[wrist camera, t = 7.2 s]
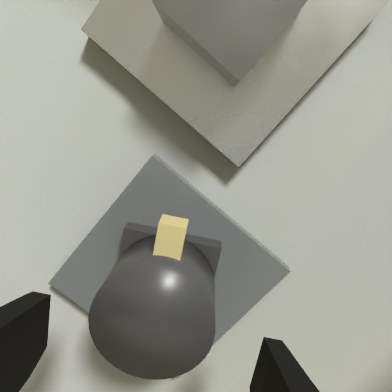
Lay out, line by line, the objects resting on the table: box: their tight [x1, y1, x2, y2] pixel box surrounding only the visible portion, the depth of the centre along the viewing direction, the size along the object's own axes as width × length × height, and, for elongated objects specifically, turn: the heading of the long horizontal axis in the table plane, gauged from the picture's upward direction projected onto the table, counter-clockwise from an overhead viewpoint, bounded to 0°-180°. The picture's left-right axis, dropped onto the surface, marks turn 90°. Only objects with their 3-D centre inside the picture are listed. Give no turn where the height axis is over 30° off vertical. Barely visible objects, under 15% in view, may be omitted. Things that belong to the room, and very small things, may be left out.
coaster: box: [49, 154, 290, 378], centre depth 15 cm, size 8×8×1 cm
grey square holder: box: [81, 0, 390, 167], centre depth 11 cm, size 8×8×3 cm
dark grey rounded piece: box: [88, 214, 222, 379], centre depth 12 cm, size 6×4×4 cm
